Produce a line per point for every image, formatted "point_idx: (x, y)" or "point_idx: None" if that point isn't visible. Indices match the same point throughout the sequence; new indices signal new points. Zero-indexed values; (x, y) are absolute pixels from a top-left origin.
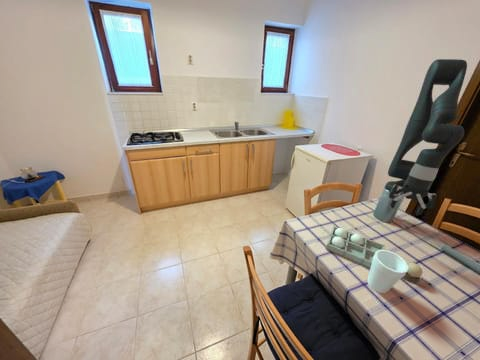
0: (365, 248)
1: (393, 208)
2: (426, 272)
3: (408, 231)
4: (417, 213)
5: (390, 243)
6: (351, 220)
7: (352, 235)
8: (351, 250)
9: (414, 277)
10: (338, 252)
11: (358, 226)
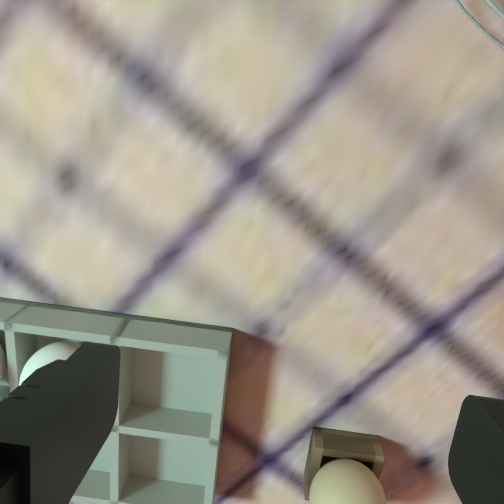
0: (117, 430)
1: (114, 418)
2: (441, 397)
3: (472, 21)
4: (463, 500)
5: (294, 235)
6: (19, 72)
7: (19, 385)
8: None
9: (361, 462)
10: None
11: (81, 136)
